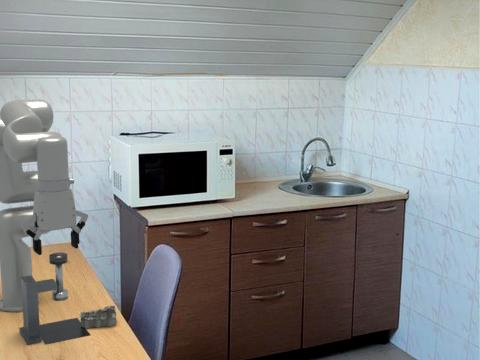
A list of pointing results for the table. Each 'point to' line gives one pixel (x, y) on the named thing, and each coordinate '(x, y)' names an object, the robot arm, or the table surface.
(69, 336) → the press frame
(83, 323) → the egg carton
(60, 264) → the disc
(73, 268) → the table surface
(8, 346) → the table surface
